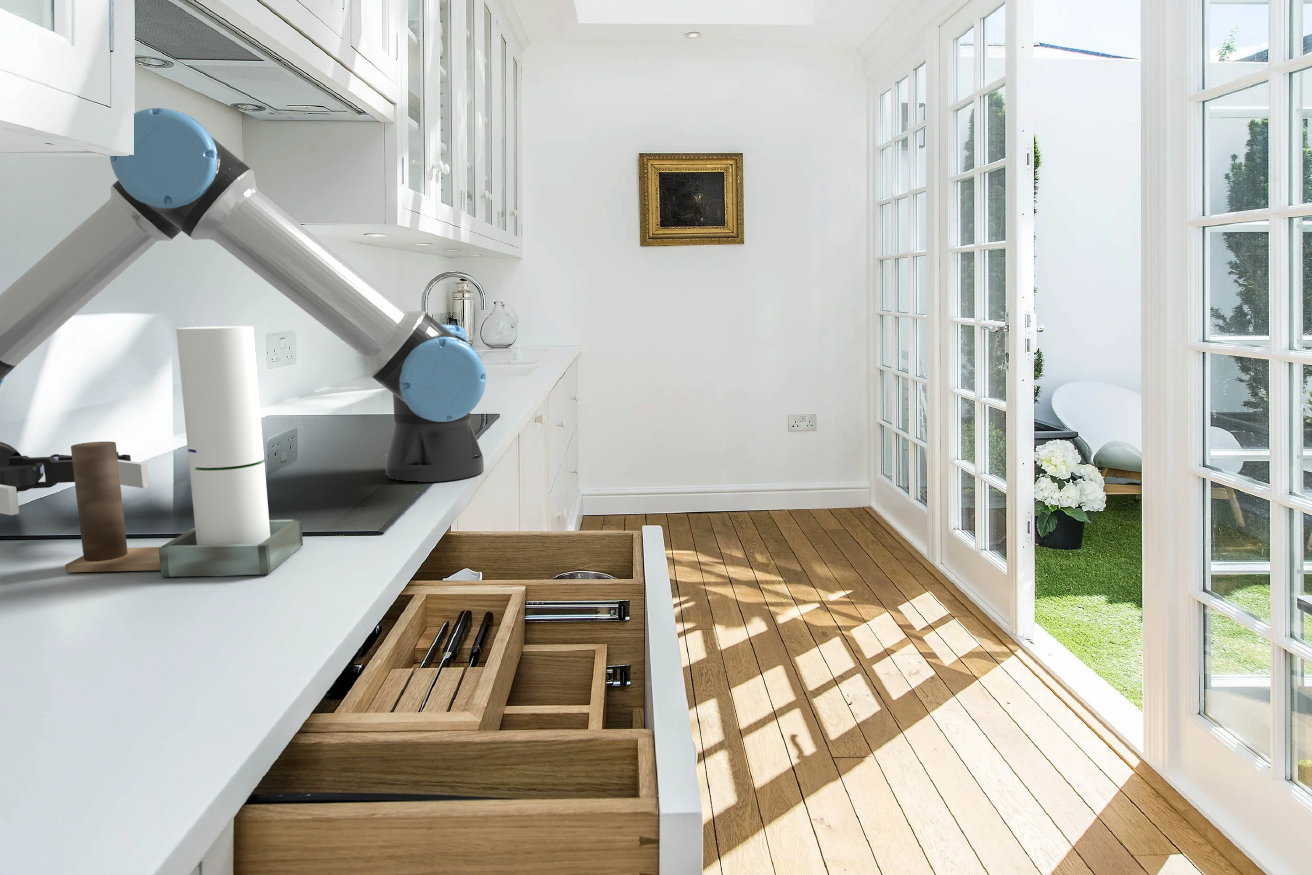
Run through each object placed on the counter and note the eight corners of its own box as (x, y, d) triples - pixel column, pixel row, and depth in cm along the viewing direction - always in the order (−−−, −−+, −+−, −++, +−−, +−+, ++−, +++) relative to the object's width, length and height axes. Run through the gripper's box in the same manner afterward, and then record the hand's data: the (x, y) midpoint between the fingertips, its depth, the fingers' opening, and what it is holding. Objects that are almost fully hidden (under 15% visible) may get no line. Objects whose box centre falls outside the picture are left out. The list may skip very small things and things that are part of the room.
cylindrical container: (252, 548, 102) (233, 325, 97) (284, 560, 97) (266, 326, 93) (186, 563, 96) (163, 328, 92) (218, 576, 92) (195, 329, 88)
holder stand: (52, 579, 91) (36, 454, 89) (109, 549, 101) (97, 436, 99) (268, 573, 92) (258, 450, 90) (303, 545, 102) (294, 433, 100)
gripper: (86, 482, 116) (194, 497, 107) (-155, 527, 94) (-47, 552, 85) (80, 424, 115) (188, 435, 105) (-166, 457, 93) (-58, 474, 84)
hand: (83, 487), depth 95 cm, fingers open, 13 cm apart
